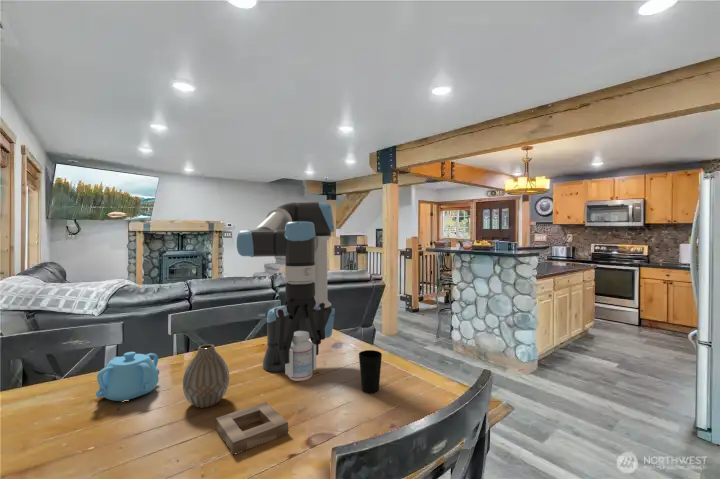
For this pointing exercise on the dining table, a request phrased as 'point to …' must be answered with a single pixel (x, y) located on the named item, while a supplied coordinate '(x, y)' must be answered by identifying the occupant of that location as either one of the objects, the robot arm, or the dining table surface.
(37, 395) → the dining table surface
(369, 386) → the cup
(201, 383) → the vase
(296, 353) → the pill bottle
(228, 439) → the socket block
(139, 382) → the decorative pot
